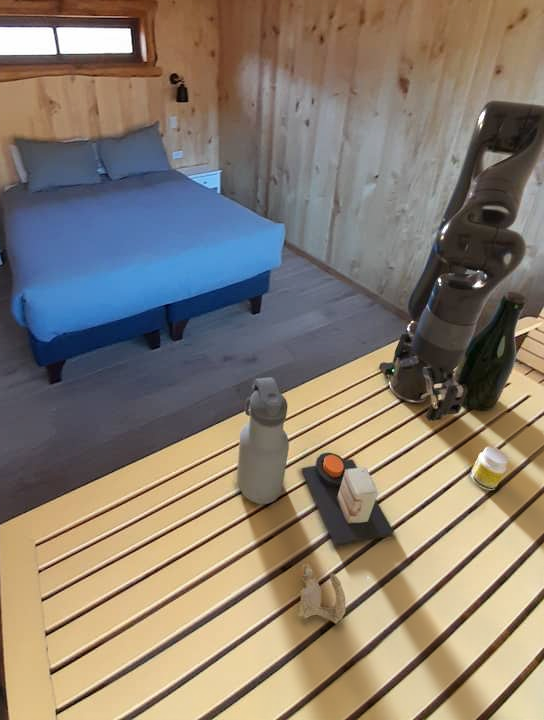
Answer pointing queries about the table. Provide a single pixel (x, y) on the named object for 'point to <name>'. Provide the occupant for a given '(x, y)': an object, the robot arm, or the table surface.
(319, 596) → the beige figurine
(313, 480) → the black button panel
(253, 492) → the water bottle
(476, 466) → the supplement bottle
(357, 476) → the white medicine box
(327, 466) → the button
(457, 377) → the dark green wine bottle
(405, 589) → the table surface
